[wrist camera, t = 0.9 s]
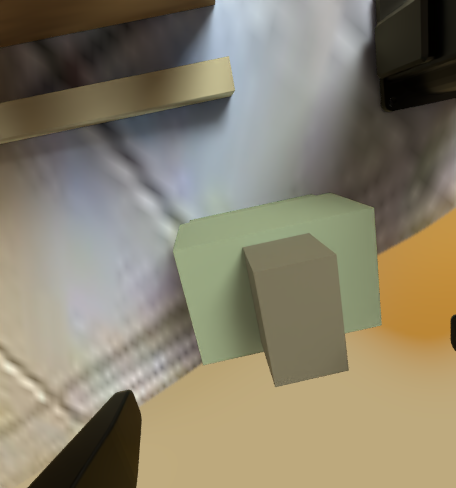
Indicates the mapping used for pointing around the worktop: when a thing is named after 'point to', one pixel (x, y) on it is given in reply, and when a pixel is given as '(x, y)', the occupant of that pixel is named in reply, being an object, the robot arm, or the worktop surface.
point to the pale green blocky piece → (282, 283)
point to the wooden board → (110, 92)
